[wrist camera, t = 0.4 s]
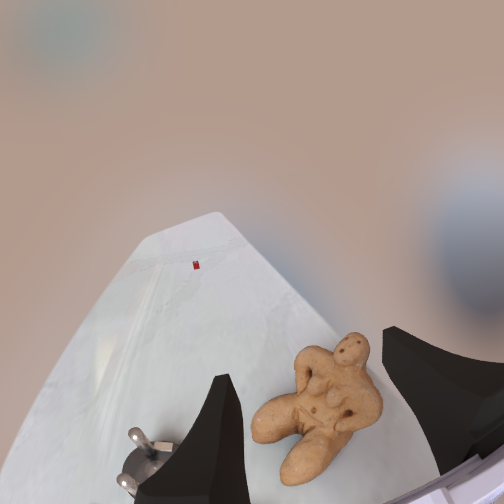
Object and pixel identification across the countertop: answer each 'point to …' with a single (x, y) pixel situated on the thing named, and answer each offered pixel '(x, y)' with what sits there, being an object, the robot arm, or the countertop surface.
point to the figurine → (321, 408)
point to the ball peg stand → (143, 460)
